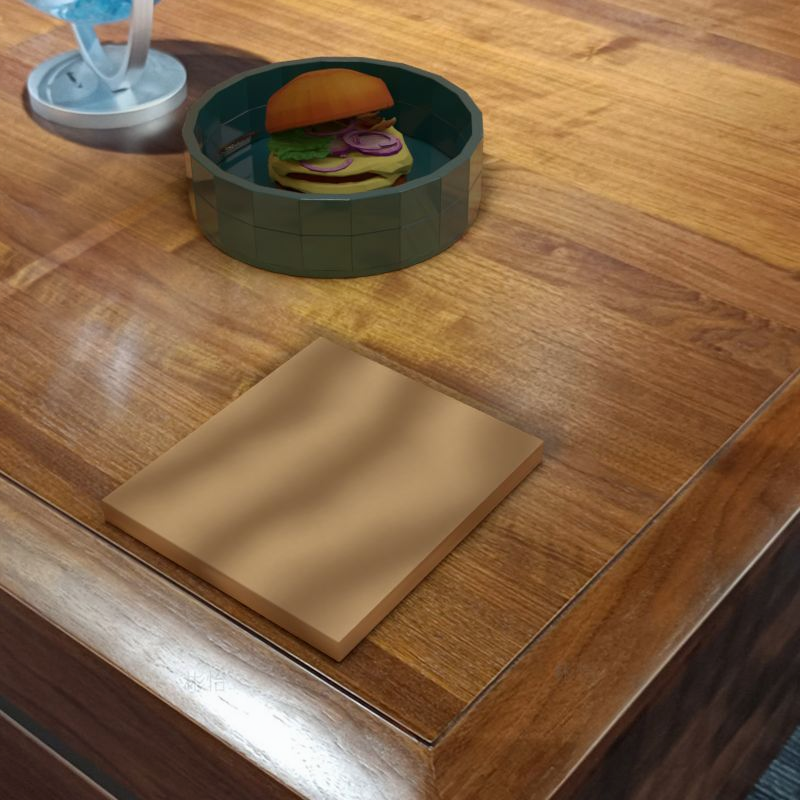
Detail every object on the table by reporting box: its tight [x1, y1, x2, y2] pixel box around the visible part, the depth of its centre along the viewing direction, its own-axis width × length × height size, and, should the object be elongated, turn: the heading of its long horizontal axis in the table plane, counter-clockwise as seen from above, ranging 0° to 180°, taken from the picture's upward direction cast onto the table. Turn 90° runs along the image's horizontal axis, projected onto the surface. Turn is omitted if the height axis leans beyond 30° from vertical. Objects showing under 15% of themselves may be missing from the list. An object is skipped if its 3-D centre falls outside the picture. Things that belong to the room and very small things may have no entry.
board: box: [101, 335, 545, 663], centre depth 73 cm, size 16×18×2 cm
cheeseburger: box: [265, 69, 413, 194], centre depth 95 cm, size 10×11×10 cm
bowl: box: [181, 56, 485, 279], centre depth 95 cm, size 21×21×6 cm
